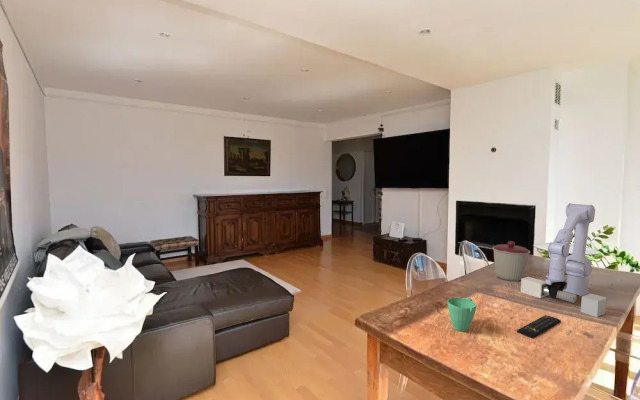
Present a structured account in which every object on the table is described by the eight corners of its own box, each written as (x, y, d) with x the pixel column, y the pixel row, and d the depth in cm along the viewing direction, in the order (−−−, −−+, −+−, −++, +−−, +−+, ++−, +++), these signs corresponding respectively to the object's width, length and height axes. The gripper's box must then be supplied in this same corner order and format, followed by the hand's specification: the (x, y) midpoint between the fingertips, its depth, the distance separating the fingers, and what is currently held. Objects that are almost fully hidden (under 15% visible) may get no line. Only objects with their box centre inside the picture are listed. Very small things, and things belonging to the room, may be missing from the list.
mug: (470, 338, 110) (472, 310, 110) (442, 329, 117) (443, 303, 116) (481, 323, 121) (483, 298, 121) (455, 316, 128) (456, 292, 127)
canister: (528, 276, 179) (530, 240, 177) (528, 286, 164) (531, 246, 162) (492, 271, 188) (493, 236, 187) (489, 279, 173) (491, 242, 171)
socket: (589, 308, 137) (590, 293, 136) (605, 313, 132) (606, 297, 131) (580, 311, 133) (581, 296, 132) (596, 317, 128) (598, 301, 128)
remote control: (516, 333, 115) (517, 330, 115) (545, 318, 128) (545, 314, 128) (532, 340, 111) (533, 336, 111) (561, 323, 124) (561, 319, 124)
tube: (524, 286, 158) (524, 279, 158) (576, 302, 139) (576, 294, 139) (520, 287, 157) (520, 280, 156) (572, 303, 137) (572, 295, 137)
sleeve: (527, 289, 158) (528, 276, 158) (547, 295, 150) (548, 282, 150) (520, 291, 155) (521, 278, 155) (540, 298, 147) (541, 284, 147)
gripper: (555, 264, 151) (553, 291, 152) (539, 268, 144) (537, 296, 145) (572, 268, 144) (570, 296, 146) (556, 272, 137) (554, 302, 139)
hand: (555, 297), depth 145 cm, fingers closed on tube, 3 cm apart
